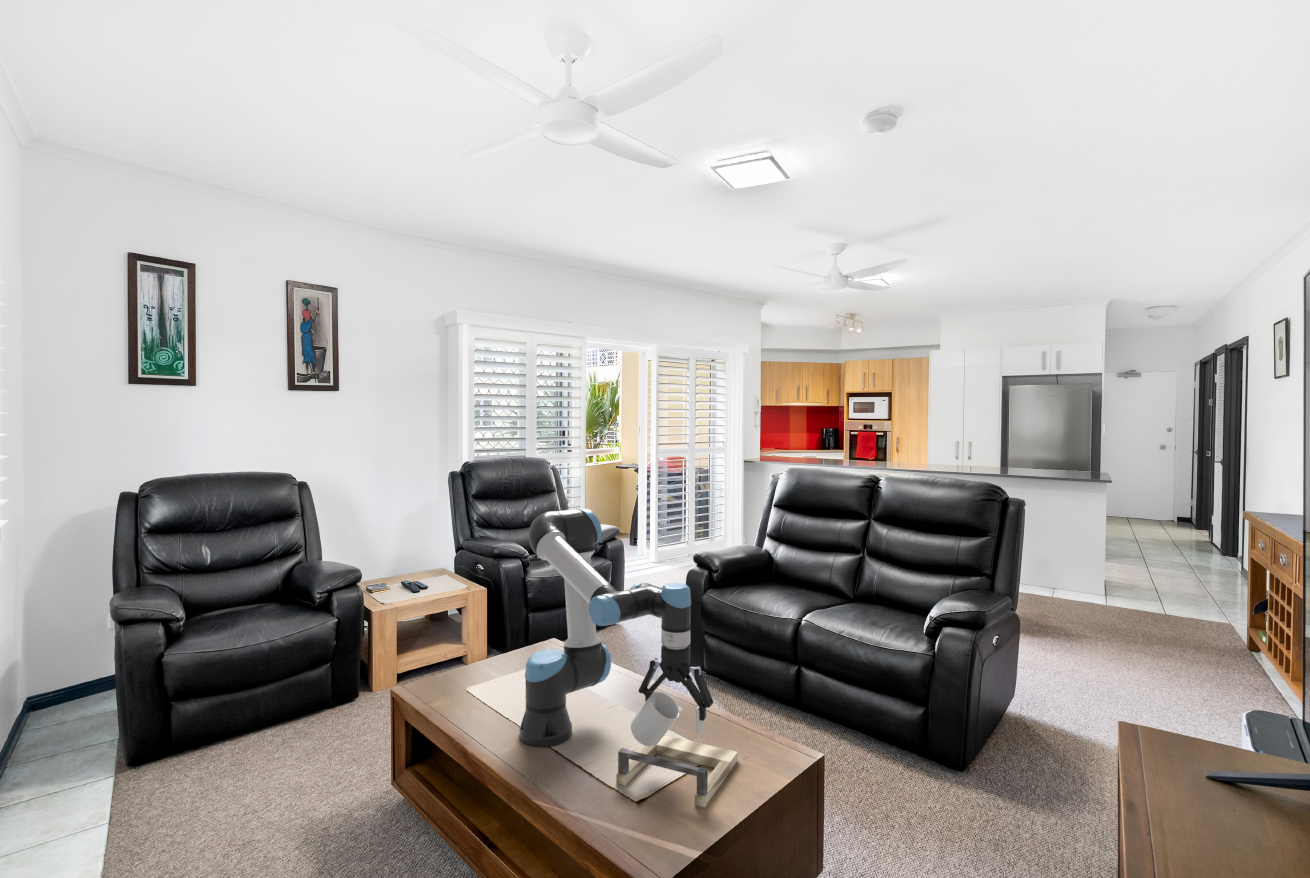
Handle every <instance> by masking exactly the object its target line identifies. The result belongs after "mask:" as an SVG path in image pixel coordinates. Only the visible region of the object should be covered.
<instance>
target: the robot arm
mask: <svg viewBox="0 0 1310 878" xmlns="http://www.w3.org/2000/svg"><path fill="white" fill-rule="evenodd" d="M602 531H603V530H602V524H601V523H600V519H599V517H598V516H597V515H596V514H595V512H594V511H592V510H590V509H588V508H571V509H564V510H563V509H562V510H550V511H545V512H542V513H541V514H539V515H538V516H537V517H536V518H534V520H533V521H532V523H531V524H530V527H529V529H528V542H529V545H530V548H531V549H532V551H533V553H534V554H535V555H536V556H537V557H538V558H539V559H541V560H543V561H547V563H549V564H550V565H551V566H552V568H554V569H555V570H556V571H557V573H558V574H560V576H561V577H562V578H563V579H564V580H563V581H564V595H565V610H566V622H567V623H566V624H567V639H566V640H565V642H564V643H563V650H562V649H560V648H551V649H544V650H540V651H537V652H535V653H534V654H532V655H531V656H529V657H528V659H527V661H526V663H525V671H524V672H525V673H524V677H525V711H524V714H523V717H522V720H521V724H520V726H519V739H520V741H521V742H523V744H526V745H529V746H532V747H541V748H542V747H551V746H556V745H559V743H560V744H562V743H564V742H566V741H567V740H569V739H570V738H571V736H572V735H571V734H573V724H572V723H573V722H572V721H571V718H570V715H569V712H568V708H567V695H568V694H571V693H575V692H577V691H580V690H583V689H586V688H589V687H594V686H596V685H598V684H600V683H603V682H604V681H605V680H606V679H607V677H608V676H609V674H610V672H611V667H612V657H611V653H610V652H609V649H608V648H609V647H607V646H606V645H605V644H604V643H603V642H602V638H601V637H599V635H597V626H598V627H604V626H611V625H615V624H619V623H622V622H625V621H629V620H634V619H638V618H641V617H645V616H653V617H656V618H660V619H661V620H660V621H661V626H660V627H661V630H660V631H661V633H660V634H661V636H660V639H661V640H660V641H661V642H660V643H661V646H660V659H661V660H660V659H659V660H658V658H657V657H654V658H653V659H651V660H650V661H649V665H648V666H649V667H648V670H647V672H646V673H645V676H644V678H643V680H642V683H641V684H640V685H639V688H638V693H639V694H643V695H644V697H645V700H644V703H645V702H646V701H647V700H648V698H649V697H650V696H651V694H652V693H653V692H656V691H657V689H658V687H659V686H660V685H661V684H662V683H664V682H665V680H666V679H667V680H668V681H669V682H675V683H677V684H678V683H679V684H680V683H681V684H682V686H683V687H685V688H686V690H687V691H688V693H689V695H690V696H691V698H692V699H693V700H694V702H695V703H696V705H697V707H696V708H695V735H699V734H700V733H701V732H702V731H704V730H703V727H704V726H703V721H704V720H706V718H707V708H708V709H709V708H710V707H711V706H712V705H713V704H714V700H713V697H712V695H711V693H710V690H709V688H708V685H707V683H706V680H705V677H704V675H703V667H702V666H701V665H698V666H691V611H692V609H691V608H692V607H691V606H692V598H691V587H690V586H688V585H687V584H685V583H679V582H670V583H665V584H663V585H662V587H659V586H657V585H653V584H651V583H648V582H637V583H635V584H633V586H631V587H630V588H629V589H625V590H621V591H619V590H617V589H615V587H614V586H613V585H612V584H610V583H609V582H608V581H607V580H606V578H604V577H603V576H602V575H601V574H600V573H599V572H598V571H597V570H596V569H595V568H594V567H593V566H592V561H591V560H592V558H591V557H592V556H593V555H594V553H595V552H596V545H597V544H598V543H599V541H600V540H601V537H602ZM659 668H660V669H661V671H662V674H661V675H660V676H659V677H658V678H657V679H656V680H655V681H654V683H653V684H652V685H651V686H650V687H649V685H650V683H651V681H652V679H653V677H654V676H655V672H656V671H657V669H659ZM690 673H691V674H692V675H690ZM693 677H694V680H695V683H694V681H693ZM696 685H697V686H696ZM651 700H652V703H653V706H654V707H655V695H654V696H652V697H651ZM570 735H571V736H570ZM569 737H570V738H569ZM568 738H569V739H568ZM565 740H566V741H565Z"/></svg>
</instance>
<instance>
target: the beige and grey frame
mask: <svg viewBox="0 0 1310 878" xmlns="http://www.w3.org/2000/svg"><path fill="white" fill-rule="evenodd" d="M656 753H659V754H658V755H660V754H662V756H664V755H666V757H669V756H670V757H669V758H673V757H674V759H677V760H681V759H682V760H681V761H685V760H687V761H686V762H689V761H691V762H690V763H693V762H695V763H694V764H697V763H699V764H698V765H701V766H706V767H709V768H714V769H713V770H712V771H711V773H710V774H709V773H708V768H705V767H697V766H695V765H694V766H693V765H690V764H686V763H682V762H678V761H673V760H670V759H665V758H662V757H657V756H654V755H657V754H656ZM738 758H739V756H738V751H735V750H731V749H727V748H722V747H718V746H714V745H710V744H704V743H701V742H696V741H692V740H687V739H682V738H680V737H674V736H671V735H666V734H665V735H664V736H663V737H662V739H661V740H660V741H659V743H658V744H656V745H654V746H645V745H643V747H642V748H641V749H640V750H639V751H633V750H630V749H627V748H625V747H624V748H620V749H619V750H618V752H617V765H618V766H617V772H616V776H615V778H616V779H615V781H616V784H617V785H620V786H624V787H625V786H626V785H628V783H629V782H630V781H631V780H633V778H635V776H636V775H637V774H638V773H639V772H640V771H641V770H642V769H643V768H644V767H645V766H646V765H650V766H656V767H659V768H662V769H668V770H669V771H670V770H671V771H675V772H680V773H682V774H687V775H690V776H695V777H696V793H694V806H696V807H701V808H704V809H706V806H707V805H708V804H709V802H710V801H711V799H712V798H713V797H714V796H715V794H716V793H717V791H718V790H719V788H720V787H721V785H722V784H723V783H724V781H725V779H726V778H727V777H728V775H729V774H730V773H731V772H732V770H733V768H734V767H735V766H736V764H737V763H738V761H739V760H738ZM645 764H646V765H645ZM708 774H709V775H708Z"/></svg>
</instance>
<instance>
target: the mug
mask: <svg viewBox="0 0 1310 878" xmlns="http://www.w3.org/2000/svg"><path fill="white" fill-rule="evenodd" d="M654 695H655V707H654V706H653V703H652V700H651V697H652V696H654ZM682 711H683V708H682V707H681V706H678V705H677V702H676V701H675V700H674V699H673V698H672V697H671V696H670V695H668V694H666V693H664V692H662V691H657V690H656V691H654V692H653V693H652V694H651V696H650V697H649V698H648V700H647V701H646V702H645V701H644V704H643V705H642V706H641V707H640V709H639V710H638V711H637V713H636V714H635V715H634V717H633V718H632V720H631V722H630V731H631V734H632V735H633V738H634V739H635V740H636V741H637V742H638V743H639V744H641V745H643V746H654V745H656V744H658V743H659V741H660V740H661V739H662V737H663V736H664V735H666V734H667V732H668V731H669V730H670V728H672V727H673V725H674V723H675V722H677V719H678V718H679V717H680V714H681V713H682Z"/></svg>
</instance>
